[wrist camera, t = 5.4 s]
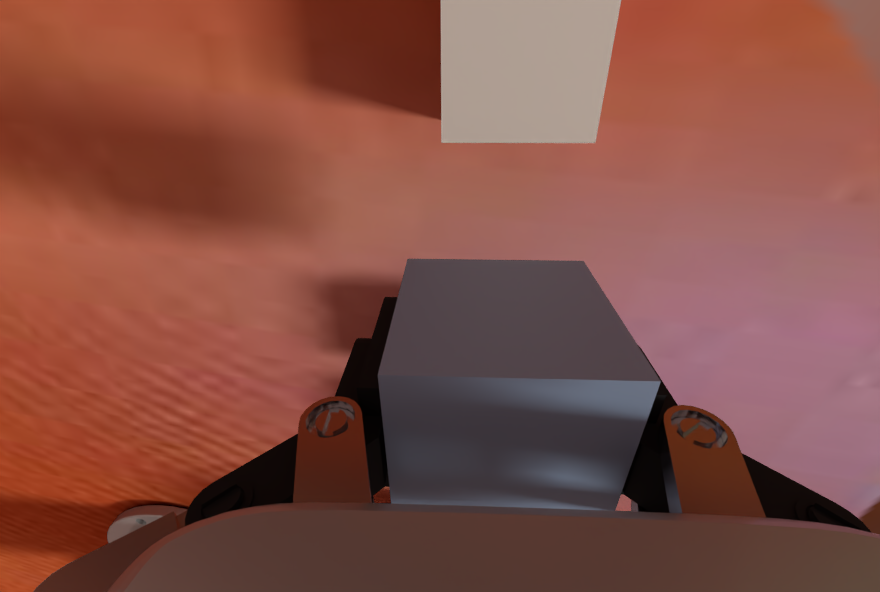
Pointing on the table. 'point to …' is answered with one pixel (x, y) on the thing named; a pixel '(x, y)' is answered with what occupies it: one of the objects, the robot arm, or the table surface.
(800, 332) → the table surface
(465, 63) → the cream block
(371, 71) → the table surface
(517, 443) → the slate block
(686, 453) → the robot arm
